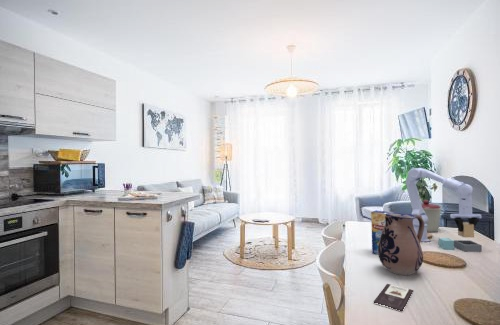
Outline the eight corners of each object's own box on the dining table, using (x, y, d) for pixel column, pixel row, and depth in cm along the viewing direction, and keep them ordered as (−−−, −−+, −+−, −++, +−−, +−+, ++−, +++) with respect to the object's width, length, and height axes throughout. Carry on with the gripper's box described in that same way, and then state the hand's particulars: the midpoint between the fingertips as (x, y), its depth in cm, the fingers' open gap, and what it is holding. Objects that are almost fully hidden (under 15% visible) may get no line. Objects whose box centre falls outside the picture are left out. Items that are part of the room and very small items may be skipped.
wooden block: (464, 237, 147) (463, 224, 147) (458, 234, 152) (457, 222, 152) (474, 237, 146) (473, 224, 146) (467, 235, 151) (467, 222, 151)
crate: (463, 251, 144) (463, 244, 144) (453, 246, 153) (453, 240, 153) (481, 251, 143) (481, 245, 143) (470, 246, 152) (470, 240, 152)
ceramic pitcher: (369, 267, 126) (368, 213, 126) (403, 260, 133) (401, 209, 133) (402, 282, 109) (401, 220, 109) (439, 274, 117) (437, 215, 117)
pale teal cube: (444, 249, 148) (443, 240, 148) (438, 246, 153) (438, 238, 153) (454, 249, 147) (453, 240, 147) (448, 247, 152) (448, 238, 152)
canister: (448, 234, 178) (447, 201, 178) (418, 233, 181) (417, 201, 181) (434, 227, 196) (434, 198, 196) (407, 227, 199) (406, 198, 199)
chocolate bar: (373, 301, 94) (387, 283, 108) (373, 304, 94) (387, 286, 108) (402, 310, 88) (413, 290, 102) (402, 313, 88) (413, 292, 102)
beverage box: (394, 258, 137) (393, 214, 137) (372, 253, 145) (371, 212, 145) (398, 254, 142) (397, 212, 142) (376, 250, 149) (375, 210, 149)
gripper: (455, 207, 146) (456, 233, 146) (485, 207, 144) (486, 233, 144) (447, 205, 153) (448, 229, 153) (476, 205, 151) (476, 230, 151)
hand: (466, 231), depth 149 cm, fingers closed on wooden block, 5 cm apart
